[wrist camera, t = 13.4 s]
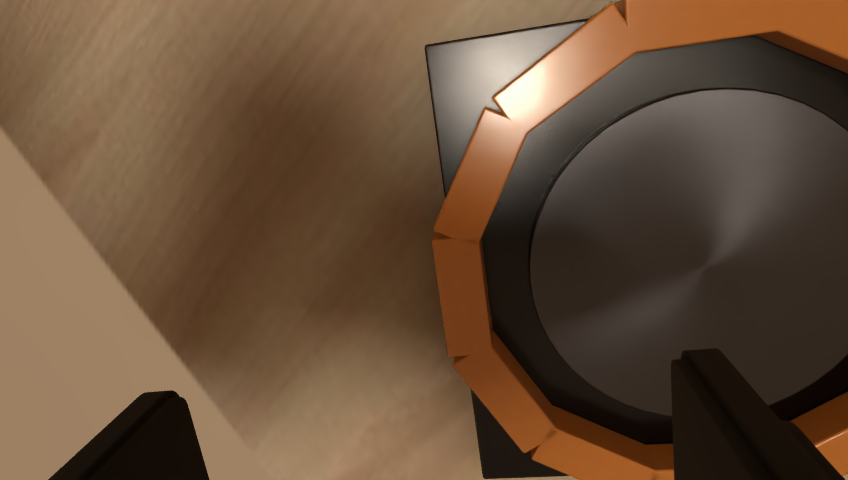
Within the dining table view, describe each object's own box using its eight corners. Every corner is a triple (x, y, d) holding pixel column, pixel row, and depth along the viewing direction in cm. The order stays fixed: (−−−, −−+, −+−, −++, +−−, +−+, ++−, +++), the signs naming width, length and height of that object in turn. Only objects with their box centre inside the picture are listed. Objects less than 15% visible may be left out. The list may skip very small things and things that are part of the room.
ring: (472, 485, 22) (470, 513, 20) (408, 37, 18) (400, 33, 16) (955, 467, 19) (993, 499, 18) (1013, -63, 15) (1069, -79, 13)
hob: (483, 460, 23) (482, 488, 21) (428, 47, 19) (422, 43, 17) (928, 441, 20) (965, 472, 19) (973, -41, 16) (1027, -55, 15)
